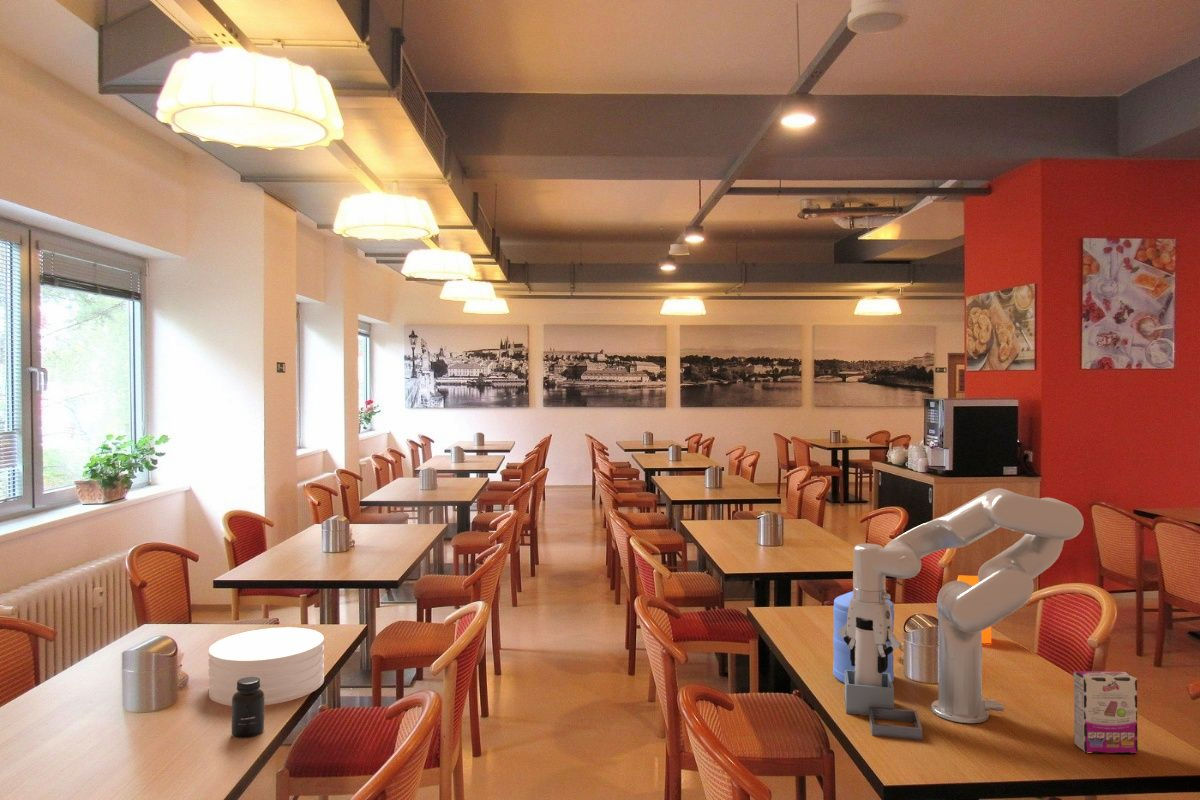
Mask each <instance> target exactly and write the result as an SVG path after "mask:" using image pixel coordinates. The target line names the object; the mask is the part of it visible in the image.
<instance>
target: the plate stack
mask: <svg viewBox="0 0 1200 800" xmlns="http://www.w3.org/2000/svg"><path fill="white" fill-rule="evenodd" d="M324 643H325V637H324V635H323V634H322V633H321V632H319V631H318V630H315V629H310V628H306V627H304V628H303V627H293V626H292V627H286V626H285V627H270V628H263V629H262V628H261V629H256V630H255V629H254V630H248V631H244V632H240V633H235V634H233V635H229V636H227V637H226V636H225V637H223V638H221V639H219V640H217V641H216V642H214V643H212V644H211V645H210V646H209V647H208V648H209V649H208V687H209V689H208V697H209V699H210V700H212V701H213V702H214V703H217V704H220V705H224V706H231V707H232V697H233V695H234V694H235V693H236V692H237V681H238V680H240V679H242V678H246V677H258V678H259V679H260V688H259V689H261V690H262V691H263V692H264V706H269V705H274V704H281V703H285V702H290V701H293V700H296V699H299V698H302V697H304V696H307V695H310V694H312V693H313V692H315V691H317V690H318V689H319V688H320V687H321V686H322V685H323V684H324V682H325V674H324V673H325V665H324V663H325V656H324V652H325V645H324Z"/></svg>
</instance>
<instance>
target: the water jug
mask: <svg viewBox="0 0 1200 800" xmlns="http://www.w3.org/2000/svg"><path fill="white" fill-rule="evenodd" d="M851 598H853V590H852V591H849V592H846V593H844V594H841V595H839V596H837V597H835V598H834V600H833V608H832V609H833V610H832V611H833V613H832V614H833V639H832V640H833V641H832V643H833V666H832V673H833V676H834V678H836V679H837V680H838V681H840V682H841V683H843V684H845V670H855V666H851V660H850V649H849V648H848V645H847V643H846V642H845V641H844V638H843V637H842V636H841V635H840V633H839V630H840V629H841V628H842V627H843V626H844V625H846V624H847V618H848V610H849V605H850V600H851ZM885 601H886V602H889V606H890V611H891V617H892V629H893V630H895V629H894V628H895V627H894V625H895V624H894V623H895V610H894V608H895V607H894V605H895V604H894V603H893V602H892V601H891V599H890V600H888V599H887V600H885ZM886 643H887V645H888V647H889V646H890V645H891V644H892V642H891V641H890V642H886ZM883 673H890V676H891V680H892V683H893V682H894V680H895V671H894V651H893V652H891V653H890V654H889V655H888V668H887V669H886V671H884V672H883Z"/></svg>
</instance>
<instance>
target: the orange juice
mask: <svg viewBox="0 0 1200 800" xmlns="http://www.w3.org/2000/svg"><path fill="white" fill-rule="evenodd" d="M956 581H963V582H966V583H968V584H970V585H972V586H974V585H976V584H977V583H979V580H978V575H962V574H961V575H958V577H957V579H956ZM982 643H991V644H992V626H991V627H989V628H987V629H985V630H983V631H982Z"/></svg>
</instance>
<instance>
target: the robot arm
mask: <svg viewBox="0 0 1200 800" xmlns="http://www.w3.org/2000/svg"><path fill="white" fill-rule="evenodd" d="M1000 528H1002V529H1005V530H1009V531H1013V532H1018V533H1022V534H1024V535H1023V536H1022V537H1021V538H1020V539H1019V540H1018V541H1016V542H1015V543H1013V545H1011V546H1009V547H1007V548H1006V549H1004V550H1003V551H1001V552H1000V553H999V554H997V555H995V556H994V557H992V558H990V559H989V560H987V561H985V562H984V563H983V564H982V565H981V566H980V567H979V570H978V572H977V576H978V580H979V583H977V584H976V585H974V586H972V585H970V584H968V583H966V582H963V581H957V580H952V581H949V582H947V583H945V584H944V585H942V587H941V588H940V589H939V591H938V593H937V597H936V610H937V621H938V692H937V693H938V699H937V700H934V701H933V702H932V703H931V711H932V712H933V713H934V714H935V715H936V716H938V717H940V718H943V719H944V720H948V721H950V722H956V723H962V724H979V723H984V722H986V721H988V720H989V716H990V715H989V714H990V713H989V712H990V711H995V712H1004V710H1005V709H1004V708H1005V707H1004V702H996V699H985V697H983V692H982V691H983V689H982V688H983V687H982V684H983V679H982V678H983V676H982V675H983V671H982V669H983V644H982V631H983V630H985V629H987V628H989V627H991V628H992V627H993V626H994V625H997V623H999V622H1000V621H1002V620H1004V619H1006V617H1007V618H1008V617H1009V616H1010V615H1011V614H1013V613H1015V612H1017V611H1018V610H1019V609H1021V608H1022V607H1023V606H1025V605H1026V604H1027V603H1028V602H1029V600H1030V599H1031V598H1032V596H1033V593H1034V589H1035V588H1034V587H1035V585H1034V579H1036V578H1037V577H1039V575H1041V574H1042V573H1044V572H1045V571H1046V570H1048V569H1049V568H1051V567H1052V566H1053V564H1054V563H1055V562H1056V561H1057V560H1058V559H1059V557H1060V554H1062V551H1063V547H1064V543H1065V541H1067V540H1073V539H1074V538H1076V537H1078V535H1080V534H1081V533H1082V530H1083V528H1084V517H1083V515H1082V513H1081V512H1080V510H1079V509H1078V508H1077V507H1075V506H1073V504H1070V503H1067V502H1064V501H1062V500H1059V499H1056V498H1054V497H1041V498H1037V497H1032V496H1027V495H1023V494H1020V493H1016V492H1013V491H1011V490H1008V489H1005V488H999V487H997V488H991V489H989V490H988V491H987V490H986V491H985V492H983V493H981V494H980V495H977V497H975V498H973V499H971V500H969V501H967V502H966V503H963V504H962V505H960V506H958V507H957V508H955V509H953V510H951V511H949V512H948V513H945V514H943V515H942V516H940V517H936V518H934V519H932V520H930V521H927V522H925V523H922V524H920V525H917V526H915V527H913V528H911V529H909V530H907V531H906V532H904V533H902V534H900V535H898V536H897V537H895V538H893V539H892V540H890V541H888V543H886V545H885V546H884V547H883V546H882V545H881V544H875V543H869V542H868V543H858V544H856V545H854V547H853V553H852V557H853V558H852V559H853V560H852V563H853V565H852V566H853V567H852V569H853V570H852V572H853V573H852V586H853V587H852V591H853V598H851V600H850V605H849V610H848V618H847V624H846V625H844V626H843V627H842V628H841V629H840V630H839V633H840V635H841V636H842V637H843V638H844V641H845V642H846V643H847V645H848V648H849V649H850V660H851V666H855V630H856V624H857V623H856V617H858V618H860V619H861V620H864V621H867V620H872V621H873V627H872V628H873V631H874V633H873V634H874V640H875V644H877V645H878V650H879V653H880V656H879V657H878V672H879V673H883V672H884V671H886V669H887V668H888V655H889V654H890V653H891V652H893V653H894V651H895V650H896V649H897V648H899V647H900V646H901V641H900V640H899V639H898V637H896V635H895V634H894V629H892V617H891V611H890V606H889V602H886V601H885V600H887V599H888V600H890V601H891V594H890V593H888V592H887V589H886V577H892V578H896V579H912V578H914V577H916V576H917V575H918V574H919V573H920V572H921V569H922V560H921V559H923V558H924V557H926V556H928V555H930V554H932V553H935V552H939V551H943V550H951V549H960V548H964V547H967V546H969V545H971V544H973V543H975V542H976V541H978V540H979V539H981V538H984V537H985V536H987V535H989V534H990V533H992V532H994V531H996V530H997V529H1000ZM890 641H891V642H892V644H891V645H890V646H889V647H888V645H887V643H886V642H890Z"/></svg>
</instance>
